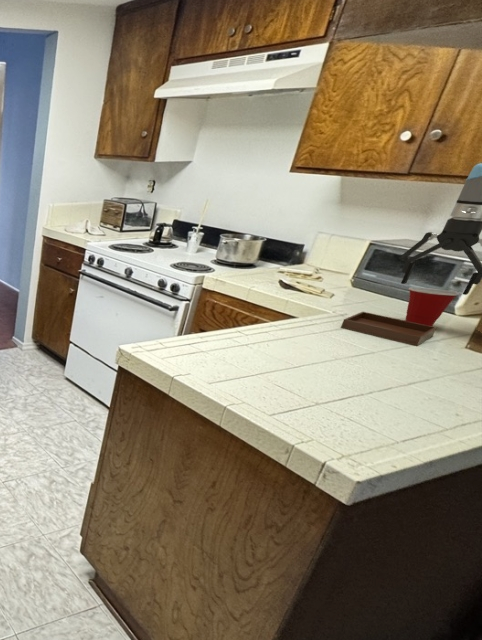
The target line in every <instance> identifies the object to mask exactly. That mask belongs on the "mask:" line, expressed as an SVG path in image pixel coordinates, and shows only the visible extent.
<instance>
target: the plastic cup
mask: <svg viewBox="0 0 482 640" xmlns="http://www.w3.org/2000/svg"><path fill="white" fill-rule="evenodd" d="M408 291H409V297H408V304H407V309H406V315H405V320H404V321H409V322H414V323H418V324H423V325H427V326H432V327H433V326H434V324H435V323H436V321H437V320H438V319H439V318H440V317H441V316H442V315H443V313H444V311H445V310H446V309H447V308H448V306H449V305H450V304H451V303H452V301H453V300H454V299H455V298H456V297H457V296H459V295H460V293H459V292H456V291H452V290H446V289H439V288H429V287H417V286H411V287H408Z"/></svg>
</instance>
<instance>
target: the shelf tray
mask: <svg viewBox="0 0 482 640" xmlns="http://www.w3.org/2000/svg"><path fill="white" fill-rule="evenodd" d="M340 328H341V329H344V328H345V330H349V331H353V332H357V333H361V334H366V335H369V336H374V337H378V338H382V339H385V340H390V341H395V342H398V343H402V344H407V345H411V346H415V347H417V346H419V345H420V344H422V343H424V342H426V341H427V340H429V339H431V338H432V337H433V336H434V335H435V332H436V330H437V329H438V327H436V326H433V325H432V326H427V325H423V324H418V323H414V322H409V321H405V320H404V319H399V318H394V317H390V316H386V315H381V314H376V313H371V312H366V311H361V312H358V313H356V314H353V315H351V316H348V317H346V318H344V319H343V320H342V324H341V326H340Z"/></svg>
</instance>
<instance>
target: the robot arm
mask: <svg viewBox="0 0 482 640" xmlns="http://www.w3.org/2000/svg"><path fill="white" fill-rule="evenodd" d="M449 217H450V218H448V219H447V220H446V222H445V223H444V224H445V225H444V227H443V229H442V230H441V232H440V233H434V232H432V231H429V232H426V233H424V236H423V237H422V238H421V239H420V240H419V241H418V242H416V243H415V244H414V245H413V246H412V247H410V248H409V249H408V250H407V251H405V252H404V253H403V254H401V255H400V256H399V257H398V260H400V261H403V262H404V265H403V267H402V269H401V273H404V275H403V277H402V280H401V282H400V284H402V285H405V284H407V282H408V281H409V279H410V276H411V274H412V272H413V270H414V268H415V265H416V262H415V261H418V260H419V259H421V258H423V257H425V256H427V255H429V254H431V253H433V252H435V251H437V250H439V249H442V250H444V251H453V252H463V253H464V254H465V255H466V257H467V258H468V260H469V261H470V263H471V264H472V266H473V267H474V269H475V272H473V273H472V274H471V277H470V279H469V281H468V283H467V285H466V286H465V288H464V290H463V292H462V295H464V296H466V295H469V293H470V291H471V289H472V288H473V285H479V284H480V283H481V281H482V262H481V260H480V258H479V257H478V255H477V254H476V252H475V250H474V248H473V246H474V245H476V244H478V243H479V245H480V247H482V238H480V235H481V233H482V162H481V163H477V164H475V165H474V166H473V168H472V169H471V171H470V173H469V175H468V177H467V178H466V179H465V182H464V184H463V186H462V189H461V191H460V193H459V196H458V198H457V200H456V202H455V203H454V205H453V207H452V209H451V212H450V214H449ZM434 239H436V240H437V244H434V245H433V246H431V247H429V248H427V249H425V250H424V251H421V252H419V253H417V254H415V255H413V254H414V253H415V252H417V250H419V249H420V248H421V247H423V246H424V245H425V244H427V242H429V241H432V240H434ZM411 255H413V256H411ZM410 256H411V257H410Z"/></svg>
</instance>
